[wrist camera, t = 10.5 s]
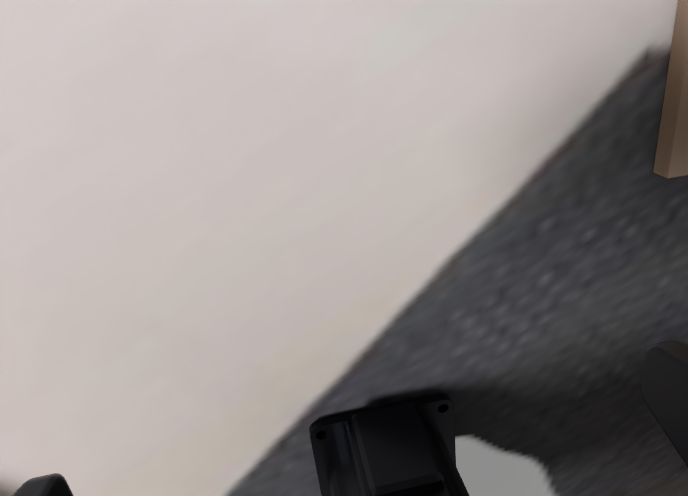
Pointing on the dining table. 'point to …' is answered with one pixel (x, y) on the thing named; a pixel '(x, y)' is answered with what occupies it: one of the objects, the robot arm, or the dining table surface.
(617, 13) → the dining table surface
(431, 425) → the robot arm
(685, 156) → the board
